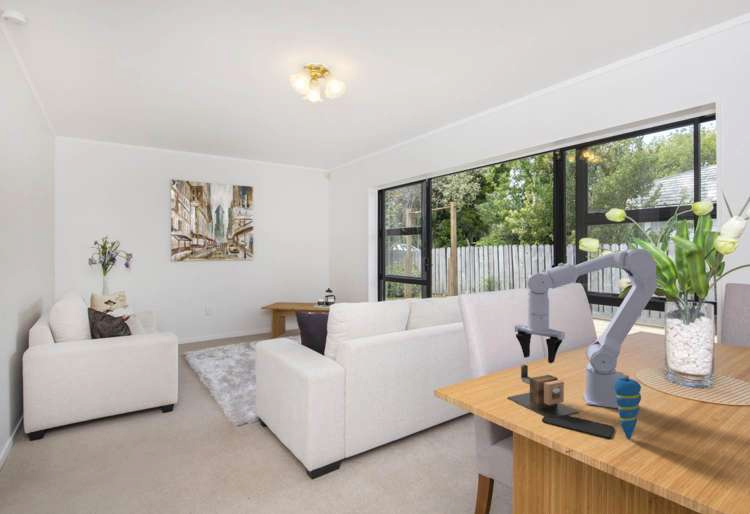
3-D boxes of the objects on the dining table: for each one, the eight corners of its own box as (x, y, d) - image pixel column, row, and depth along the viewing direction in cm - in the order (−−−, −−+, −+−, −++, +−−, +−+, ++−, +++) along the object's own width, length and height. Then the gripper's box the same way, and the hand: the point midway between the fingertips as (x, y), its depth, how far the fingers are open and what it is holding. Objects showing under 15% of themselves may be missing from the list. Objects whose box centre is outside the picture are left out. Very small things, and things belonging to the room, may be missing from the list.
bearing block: (557, 404, 106) (557, 377, 106) (538, 409, 103) (538, 381, 103) (548, 400, 109) (548, 374, 109) (529, 405, 106) (529, 378, 106)
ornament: (645, 445, 85) (646, 377, 85) (619, 443, 86) (619, 375, 86) (634, 434, 90) (635, 369, 90) (610, 432, 91) (610, 368, 91)
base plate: (579, 412, 102) (579, 411, 102) (551, 419, 98) (551, 418, 98) (533, 393, 116) (533, 391, 116) (507, 398, 112) (507, 397, 112)
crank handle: (561, 395, 102) (561, 377, 102) (556, 396, 101) (556, 378, 101) (524, 380, 114) (524, 364, 114) (519, 381, 113) (519, 365, 113)
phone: (548, 410, 102) (614, 426, 93) (548, 414, 102) (614, 429, 93) (540, 420, 97) (610, 437, 87) (540, 423, 97) (610, 441, 87)
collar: (563, 401, 103) (563, 381, 103) (548, 405, 101) (548, 384, 101) (558, 399, 105) (558, 379, 105) (543, 403, 103) (543, 382, 103)
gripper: (569, 315, 111) (569, 362, 112) (523, 309, 123) (523, 352, 123) (557, 318, 107) (557, 367, 107) (510, 312, 118) (510, 356, 119)
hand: (538, 359), depth 115 cm, fingers open, 7 cm apart
